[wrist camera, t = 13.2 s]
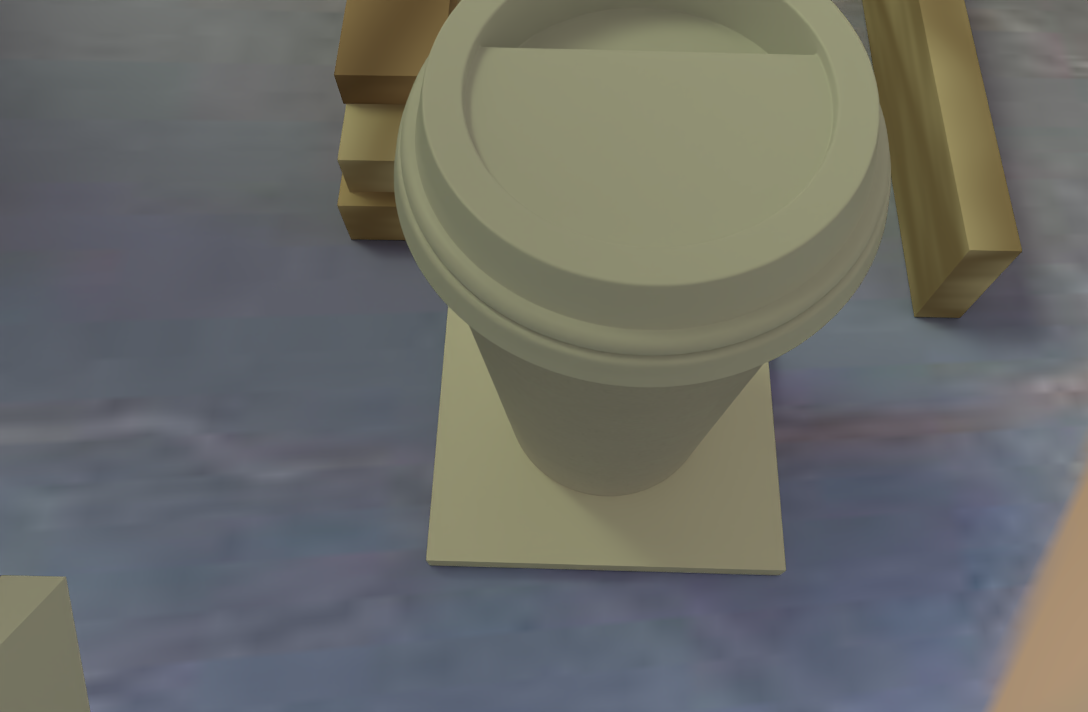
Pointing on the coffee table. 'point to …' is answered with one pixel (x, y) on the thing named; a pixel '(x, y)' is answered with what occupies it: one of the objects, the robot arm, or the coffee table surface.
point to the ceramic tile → (589, 520)
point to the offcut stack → (379, 102)
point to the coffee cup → (639, 209)
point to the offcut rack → (941, 153)
